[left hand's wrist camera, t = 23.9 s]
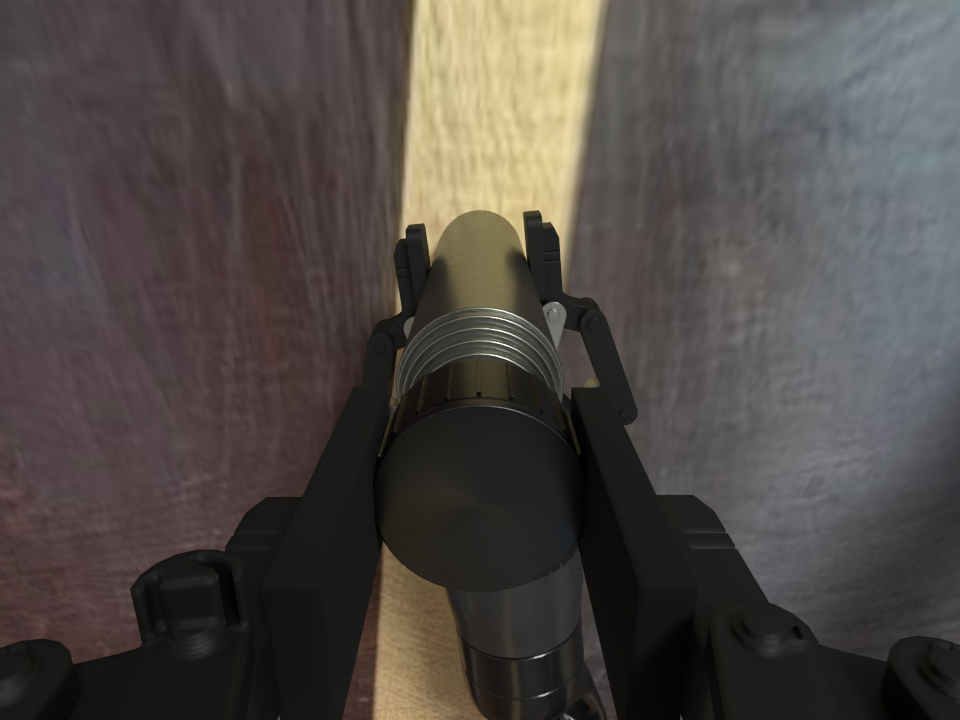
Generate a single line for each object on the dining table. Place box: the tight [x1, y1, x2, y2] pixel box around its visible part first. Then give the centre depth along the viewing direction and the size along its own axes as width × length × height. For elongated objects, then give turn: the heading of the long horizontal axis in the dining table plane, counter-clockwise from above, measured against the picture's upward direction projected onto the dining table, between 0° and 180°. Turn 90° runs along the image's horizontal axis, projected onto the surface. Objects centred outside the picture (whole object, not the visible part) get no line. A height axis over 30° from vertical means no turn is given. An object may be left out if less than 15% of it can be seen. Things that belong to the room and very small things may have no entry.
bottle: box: [396, 210, 564, 404], centre depth 25 cm, size 5×5×25 cm
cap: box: [373, 358, 587, 592], centre depth 14 cm, size 4×4×2 cm
